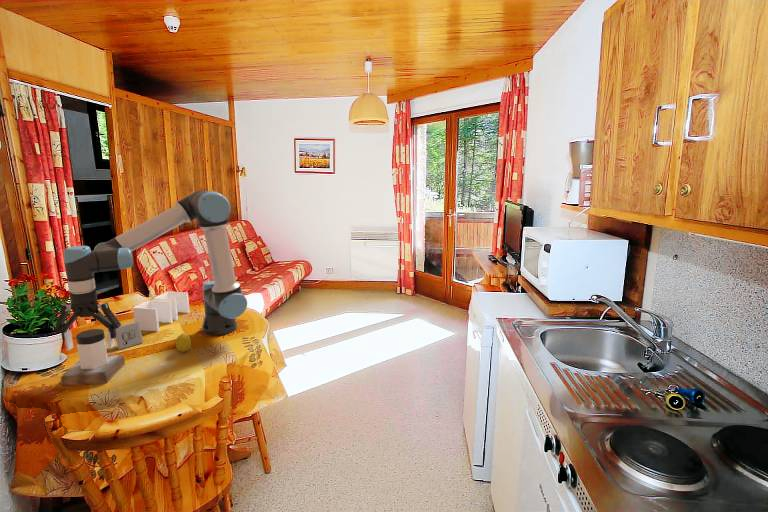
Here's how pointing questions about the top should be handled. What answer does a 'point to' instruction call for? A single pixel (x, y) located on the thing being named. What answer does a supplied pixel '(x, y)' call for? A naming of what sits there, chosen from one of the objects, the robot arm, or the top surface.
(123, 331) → the electrical switch
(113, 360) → the stand
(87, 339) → the jar
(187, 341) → the lemon
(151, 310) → the white domino row
